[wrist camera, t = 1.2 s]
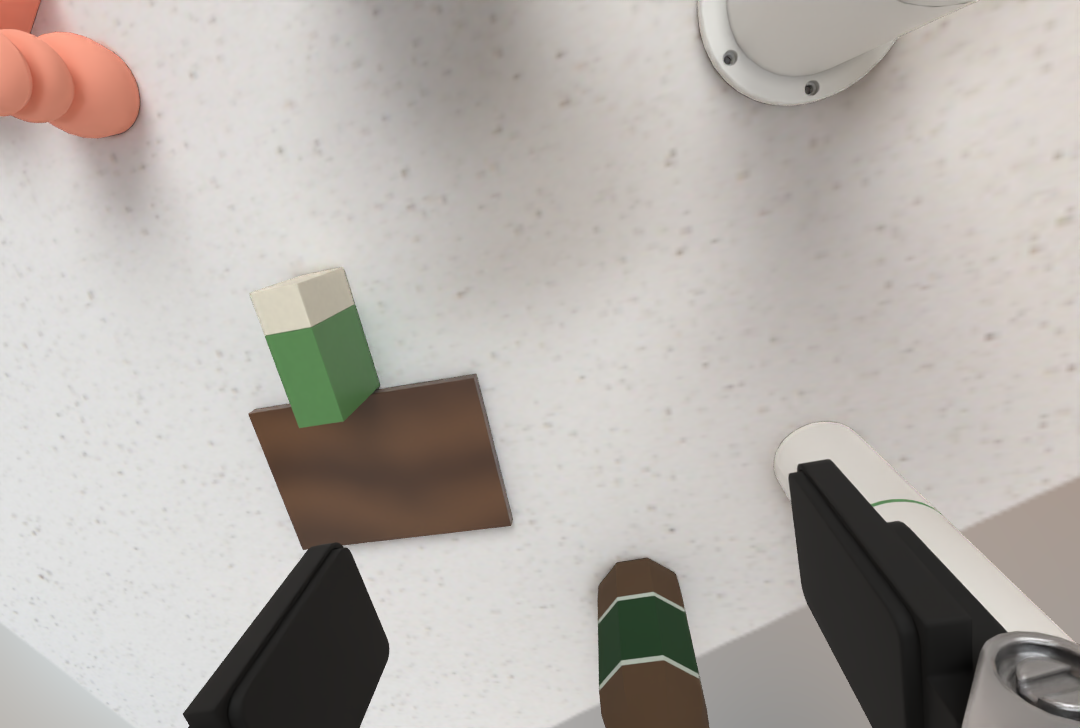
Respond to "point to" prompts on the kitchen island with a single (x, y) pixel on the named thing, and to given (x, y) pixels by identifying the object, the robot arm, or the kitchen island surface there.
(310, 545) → the cutting board
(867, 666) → the robot arm
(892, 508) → the cylindrical container
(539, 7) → the kitchen island surface
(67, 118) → the coral tray and vase
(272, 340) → the block
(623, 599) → the beer bottle
